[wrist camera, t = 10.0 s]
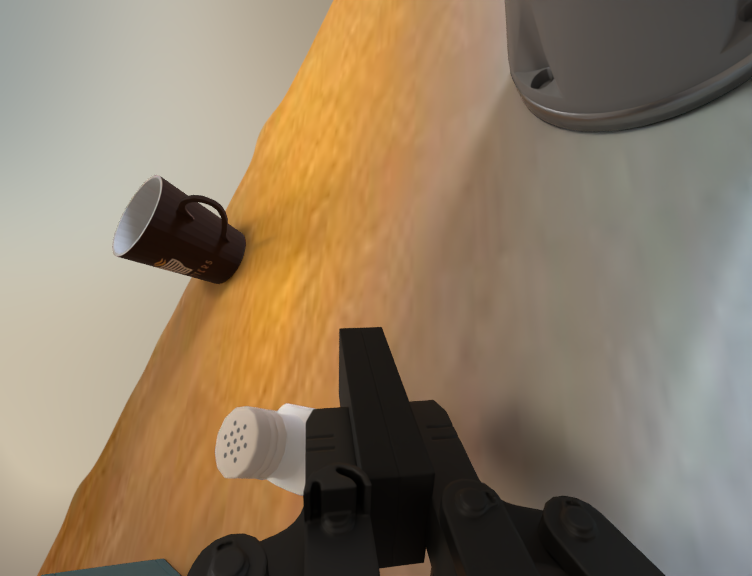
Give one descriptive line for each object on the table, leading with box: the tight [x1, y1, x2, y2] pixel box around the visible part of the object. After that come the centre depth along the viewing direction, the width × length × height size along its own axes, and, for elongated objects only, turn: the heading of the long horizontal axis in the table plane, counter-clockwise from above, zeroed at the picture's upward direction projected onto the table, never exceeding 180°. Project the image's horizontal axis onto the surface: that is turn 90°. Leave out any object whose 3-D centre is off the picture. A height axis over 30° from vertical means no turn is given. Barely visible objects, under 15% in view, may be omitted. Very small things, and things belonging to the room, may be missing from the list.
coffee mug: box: [112, 175, 246, 284], centre depth 41 cm, size 12×9×10 cm
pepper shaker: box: [215, 403, 314, 496], centre depth 22 cm, size 4×4×10 cm
